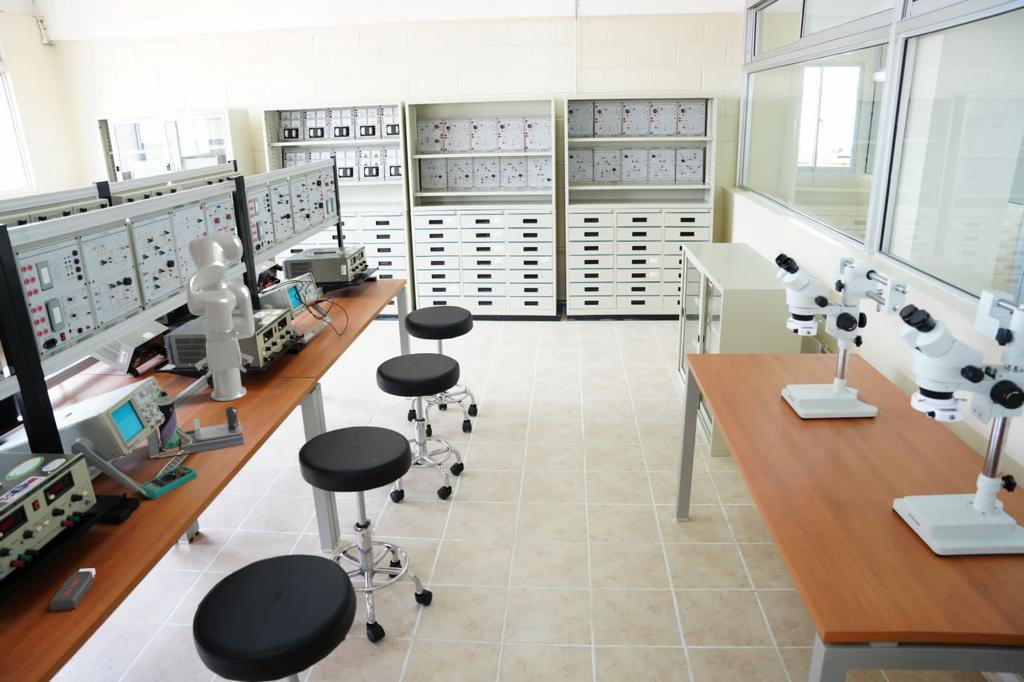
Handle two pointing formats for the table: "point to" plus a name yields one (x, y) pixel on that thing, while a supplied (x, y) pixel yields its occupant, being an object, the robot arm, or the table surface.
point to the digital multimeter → (169, 481)
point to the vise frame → (192, 448)
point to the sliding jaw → (219, 428)
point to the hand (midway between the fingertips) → (227, 384)
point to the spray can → (168, 422)
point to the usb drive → (73, 589)
